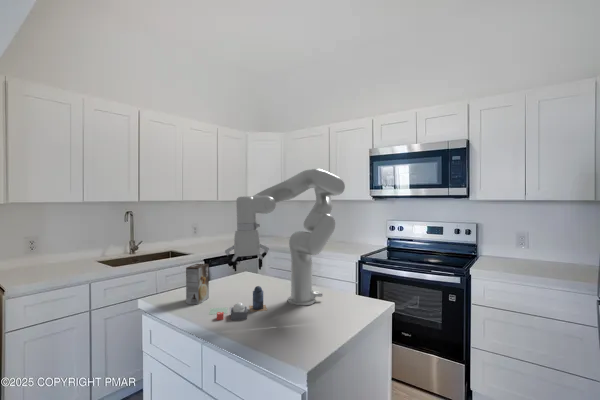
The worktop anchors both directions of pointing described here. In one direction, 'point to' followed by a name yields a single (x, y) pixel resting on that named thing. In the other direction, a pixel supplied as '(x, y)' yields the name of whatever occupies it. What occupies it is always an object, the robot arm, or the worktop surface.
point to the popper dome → (238, 307)
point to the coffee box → (197, 283)
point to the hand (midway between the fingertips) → (247, 269)
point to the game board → (235, 315)
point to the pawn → (258, 298)
